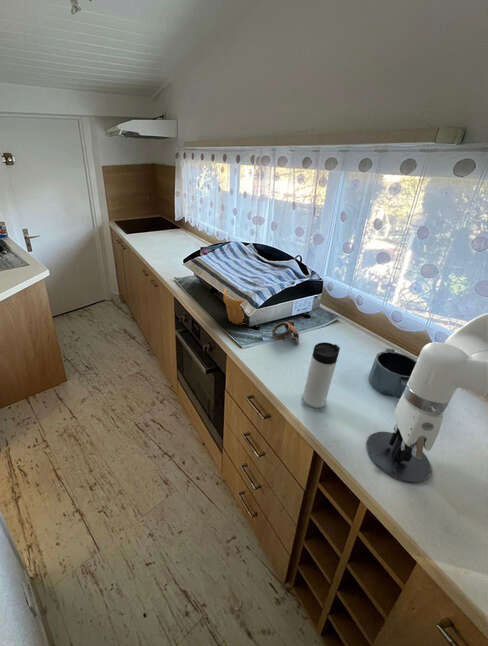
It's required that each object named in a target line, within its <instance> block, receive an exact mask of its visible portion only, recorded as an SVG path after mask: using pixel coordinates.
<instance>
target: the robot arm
mask: <svg viewBox="0 0 488 646" xmlns="http://www.w3.org/2000/svg"><path fill="white" fill-rule="evenodd" d="M416 361H417V362H416V365H415V367H414V369H413V371H412V374H411V376H410V378H409V381H408V383H407V385H406V387H405V390H404V392H403V395H402V396H401V398H399V400H398V402H397V404H396V407H395V409H394V412H393V416H394V417H393V418H394V420H395V423H396V424H395V425H394V427H393V432H392V433H393V435H392V437H391V439H390V441H389V444H390V445H391V446H393V444H394V442H395V440H396V438H397V436H398V435H399V434H401V436H402V438H403V441H402V444H401V446H398V448H397V450H396V452H395V454H394V458H395V459H398V460H402V461H407V462H409V461H410V459H411V457H412V455H413V456H414V457H416V458H420V459H421V458H422V453H424V451H431V450H432V448H433V447H434V444H435V442H436V440H437V438H438V435H439V433H440V430H441V427H442V423H443V418H444V415H443V414H444V413H445V411H446V409H447V407H448V406H449V404H450V402H451V400H452V398H453V396H454V395H455V392H456V391H457V389H464V390H466V391H467V390H468V391H470V392H475V393H478V394H482V395H487V396H488V312H485V313H483V314H481V315H479V316H476V317H475V318H472V319H470V320H469V321H468V322H466V323H465V324H464V325H462V326H461V327H459V328H458V329H457V330H455V331H454V332H453V333H451V334H450V335H449V336H448V337H447V338H446V340H445V341H444V342H440V341H436V342H435V341H434V342H429V343H427V344H425V345H424V346H423V347H422V348H421V351H420V353H419V355H418V357H417V360H416ZM411 444H413V446H412V447H410V446H411Z"/></svg>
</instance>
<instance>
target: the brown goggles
mask: <svg viewBox="0 0 488 646" xmlns="http://www.w3.org/2000/svg"><path fill="white" fill-rule="evenodd" d="M282 326H284V328H285V331H284V332H279V333H277V332H276V331H277V330H278V329H279V328H280V327H282ZM271 332H272V338H273V339H275V340H277V341H283V342H285V341H286V338H290V339H292V338H295V342H296V345H299V344H300V337H299V332H298V330H297V328H296V327H295V322H294V320H292V319H290V320H287V321H281V322H279V323H277V324H275V325H274V327H273V329H272V330H271Z"/></svg>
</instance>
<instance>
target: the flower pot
mask: <svg viewBox="0 0 488 646" xmlns="http://www.w3.org/2000/svg"><path fill="white" fill-rule="evenodd" d="M226 290H227V288H225V289H224V290H223V303H224V304H225V307H226V314H227V318H228V321H229V322H230V323H232V324H234V325H246V323H242V322H243V319H244V313H243V311H242V308H241V306H240V304H241V303H242V302H244V300H234V299H231V298H229V297H227V296H226ZM231 321H232V322H231ZM239 323H241V324H239Z"/></svg>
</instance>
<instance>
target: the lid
mask: <svg viewBox="0 0 488 646" xmlns="http://www.w3.org/2000/svg"><path fill="white" fill-rule="evenodd" d="M393 433H394V432H389V431H376V432H373V433H371V434H370V435H368V437H367V439H366V442H365V448H366V452H367V455H368V456H369V458H370V460H371V461H372V462H373V463H374V465H376V467H378V468H379V470H381V471H382V472H383V473H385V474H387V475H388V476H390V477H392V478H394V479H396V480H398V481H401V482H404V483H409V484H419V483H423V482H424V481H426V480H428V478H429V477H430V475H431V473H432V467H431V463H430V460H429V458H428V457H427V455H426V454H425V452H423V453H422V458H421V459H420V458H416V457H414V456H413V455H412V457H411V459H410V461H409V462H407V461H402V460H398V459H395V458H394V454H395V452H396V450H397V448H398V446H401V444H402V441H403V438H402V436H401V434H399V435H398V436H397V438H396V440H395V442H394V444H393V446H391V445H390V444H389V441H390V439H391V437H392V435H393ZM412 446H413V444H411V446H410V447H412Z"/></svg>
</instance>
